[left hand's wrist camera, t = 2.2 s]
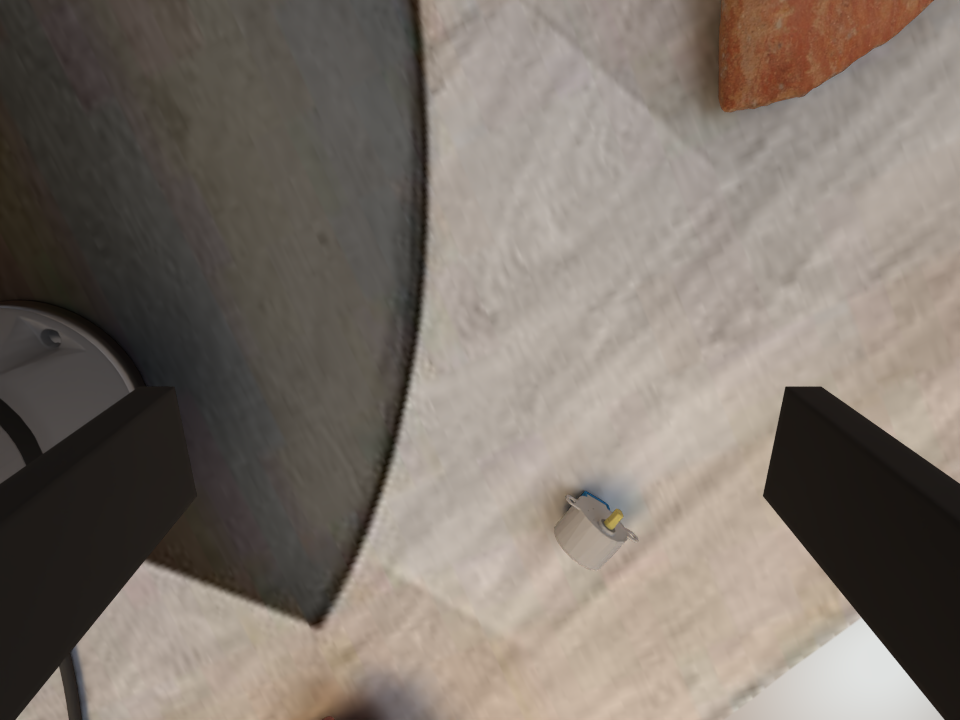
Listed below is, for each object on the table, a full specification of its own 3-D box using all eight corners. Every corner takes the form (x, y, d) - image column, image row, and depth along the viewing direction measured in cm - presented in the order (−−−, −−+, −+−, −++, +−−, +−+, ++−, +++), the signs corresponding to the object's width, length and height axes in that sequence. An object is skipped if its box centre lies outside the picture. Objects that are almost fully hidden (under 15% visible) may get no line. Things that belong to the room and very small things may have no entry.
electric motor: (642, 503, 46) (660, 543, 41) (605, 543, 47) (619, 587, 42) (574, 462, 44) (585, 499, 40) (538, 505, 46) (544, 545, 41)
